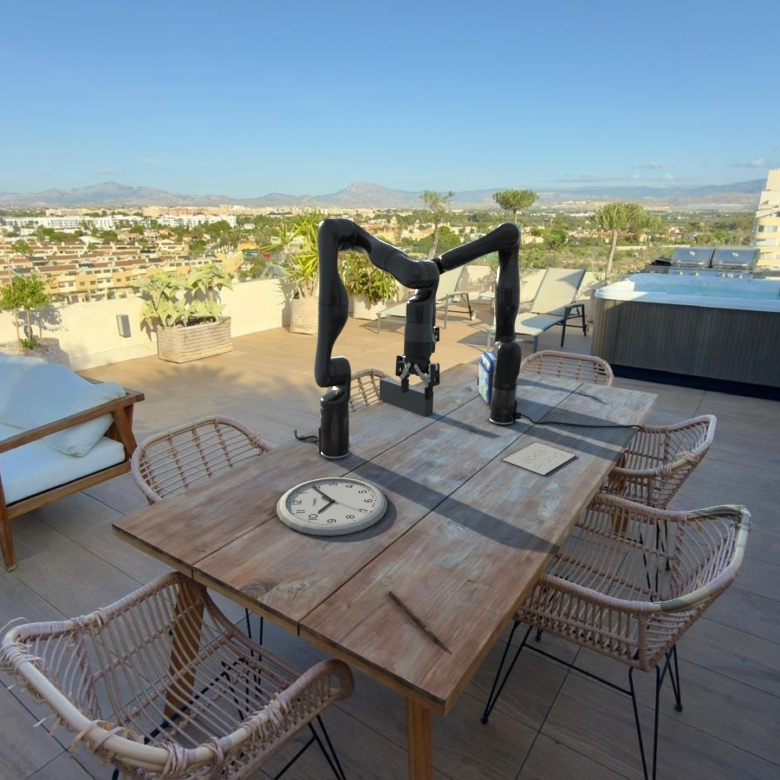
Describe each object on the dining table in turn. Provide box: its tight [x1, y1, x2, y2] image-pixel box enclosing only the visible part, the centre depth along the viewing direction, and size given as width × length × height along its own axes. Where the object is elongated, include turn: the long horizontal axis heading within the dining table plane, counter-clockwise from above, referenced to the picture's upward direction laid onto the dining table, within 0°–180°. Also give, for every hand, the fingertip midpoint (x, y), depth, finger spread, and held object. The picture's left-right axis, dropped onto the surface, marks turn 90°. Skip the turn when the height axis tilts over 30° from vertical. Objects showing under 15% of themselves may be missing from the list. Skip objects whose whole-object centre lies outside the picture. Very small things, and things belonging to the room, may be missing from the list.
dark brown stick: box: [388, 590, 436, 642], centre depth 102 cm, size 15×1×1 cm, turn 34°
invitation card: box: [502, 442, 577, 476], centre depth 174 cm, size 21×1×15 cm
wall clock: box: [276, 476, 388, 537], centre depth 142 cm, size 30×2×30 cm
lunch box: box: [476, 349, 497, 406], centre depth 230 cm, size 26×11×21 cm, turn 179°
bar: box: [378, 377, 434, 417], centre depth 221 cm, size 28×5×10 cm, turn 43°
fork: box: [579, 387, 603, 403], centre depth 238 cm, size 3×16×2 cm, turn 15°
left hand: (416, 395), depth 144 cm, fingers open, 8 cm apart
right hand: (424, 354), depth 208 cm, fingers open, 8 cm apart
